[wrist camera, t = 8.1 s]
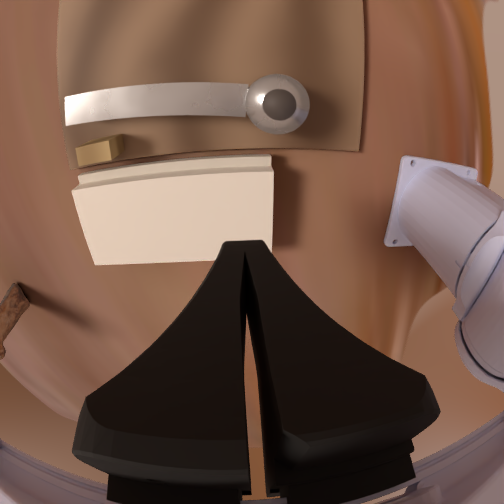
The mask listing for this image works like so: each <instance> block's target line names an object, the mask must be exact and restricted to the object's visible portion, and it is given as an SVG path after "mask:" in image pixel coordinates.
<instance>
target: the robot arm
mask: <svg viewBox="0 0 504 504" xmlns="http://www.w3.org/2000/svg"><path fill="white" fill-rule="evenodd" d="M412 160H413V163H412V165H411V164H410V163H411V161H412ZM467 171H468V172H467ZM477 174H478V172H477V170H476V169H475V168H472V167H468V166H463V165H459V164H454V163H449V162H444V161H439V160H433V159H428V158H422V157H415V156H409V155H405V156H403V157H402V158H401V162H400V168H399V174H398V179H397V185H396V190H395V195H394V200H393V204H392V209H391V213H390V218H389V222H388V226H387V230H386V234H385V238H384V244H385V245H386V246H387V247H395V246H414V247H415V248H416V249H417V250H418V251H419V252H420V254H421V255H422V256H423V257H424V258H425V260H426V261H427V262H428V263H429V264H430V266H431V267H432V268H433V269H434V271H435V272H436V273H437V274H438V276H439V277H440V278H441V279H442V281H443V282H444V283H445V285H446V286H447V287H448V288H449V290H450V291H451V292H452V294H453V295H454V297H455V298H456V301H455V303H454V306H453V307H452V310H453V311H454V312H455V314H456V316H457V317H458V319H459V321H458V322H457V324H456V327H455V342H456V346H457V349H458V352H459V355H460V357H461V359H462V361H463V363H464V365H465V366H466V367H467V369H468V370H469V371H470V373H472V375H473V376H475V377H476V378H477V379H478V380H480V381H482V382H484V383H486V384H488V385H491V386H494V387H496V388H498V389H500V390H501V391H502V392H504V199H503V198H501V197H500V196H499V195H497V194H496V193H494V192H493V191H491V190H490V189H488V188H487V187H485V186H484V185H482V184H481V183H479V182H478V181H476V179H477ZM394 240H395V241H394ZM393 241H394V242H393ZM246 313H247V318H248V324H249V330H250V336H251V341H252V347H253V353H254V358H255V364H256V370H257V377H258V390H259V402H260V415H261V428H262V442H263V456H264V469H265V483H266V494H267V497H275V496H280V498H275V499H264V500H247V501H246V500H245V501H242V495H252V494H251V478H250V463H249V450H248V435H247V419H246V403H245V386H244V357H245V335H246ZM439 414H440V408H439V405H438V403H437V401H436V398H435V395H434V393H433V390H432V388H431V386H430V384H429V382H428V381H427V379H426V377H425V375H423V374H421V373H419V372H417V371H415V370H413V369H411V368H408V367H407V366H405V365H402V364H401V363H399V362H397V361H395V360H393V359H391V358H389V357H387V356H386V355H384V354H382V353H381V352H379V351H377V350H376V349H374V348H372V347H371V346H369V345H367V344H366V343H364V342H363V341H361V340H360V339H358V338H357V337H356V336H354V335H353V334H352V333H350V332H349V331H347V330H346V329H345V328H343V327H342V326H341V325H339V324H338V323H337V322H335V321H334V320H333V319H332V318H331V317H329V316H328V315H327V314H326V313H325V312H324V311H323V310H321V309H320V308H319V307H318V306H317V305H316V304H315V303H314V302H313V301H312V300H311V299H310V298H309V297H308V296H307V295H306V294H305V293H304V292H303V291H302V290H301V289H300V288H299V287H298V286H297V284H296V283H295V282H294V281H293V280H292V279H291V278H290V276H289V275H288V274H287V273H286V271H285V270H284V269H283V268H282V266H281V265H280V264H279V262H278V261H277V260H276V258H275V257H274V256H273V254H272V253H271V251H270V250H269V248H268V246H267V245H266V243H265V242H264V241H263V240H240V241H225V242H224V243H223V244H222V246H221V249H220V251H219V254H218V256H217V258H216V260H215V262H214V264H213V266H212V267H211V269H210V271H209V272H208V274H207V276H206V278H205V279H204V281H203V282H202V284H201V285H200V287H199V288H198V290H197V291H196V293H195V294H194V296H193V297H192V299H191V300H190V301H189V303H188V304H187V305H186V307H185V308H184V309H183V311H182V312H181V313H180V314H179V315H178V317H177V318H176V319H175V320H174V321H173V323H172V324H171V325H170V326H169V327H168V328H167V329H166V330H165V331H164V332H163V333H162V335H161V336H160V337H159V338H158V339H157V340H156V341H155V342H154V343H153V344H152V345H151V346H150V347H149V348H148V349H146V350H145V351H144V352H143V353H142V354H141V355H140V356H139V357H138V358H136V359H135V360H134V361H133V362H132V363H131V364H130V365H129V366H127V367H126V368H125V369H124V370H123V371H121V372H120V373H119V374H118V375H116V376H115V377H113V378H112V379H111V380H109V381H108V382H107V383H105V384H104V385H103V386H101V387H100V388H98V389H97V390H96V391H94V392H93V393H91V394H90V395H88V396H87V397H86V398H85V401H84V404H83V407H82V409H81V412H80V415H79V419H78V424H77V428H76V433H75V438H74V442H73V448H72V453H73V454H74V456H75V457H76V458H77V459H79V460H81V461H82V462H84V463H86V464H88V465H90V466H92V467H95V468H96V469H98V470H101V471H103V472H105V473H107V474H109V477H108V485H106V484H103V483H99V482H96V481H93V480H90V479H86V478H83V477H80V476H78V475H75V474H72V473H69V472H67V471H64V470H62V469H59V468H57V467H54V466H52V465H50V464H47V463H45V462H43V461H41V460H38V459H36V458H34V457H32V456H30V455H28V454H26V453H24V452H22V451H20V450H18V449H17V448H15V447H13V446H11V445H10V444H8V443H6V442H4V441H2V440H1V439H0V504H361V503H364V502H367V501H370V500H373V499H376V498H379V497H382V496H384V495H387V494H390V493H392V492H395V491H397V490H400V489H402V488H405V487H407V486H408V487H407V489H406V491H405V493H404V494H403V495H399V496H397V497H393V498H390V499H386V500H383V501H381V502H378V503H375V504H504V411H503V412H501V413H500V414H499V415H497V416H496V417H494V418H493V419H492V420H490V421H489V422H487V423H486V424H484V425H483V426H481V427H480V428H478V429H477V430H475V431H474V432H472V433H470V434H469V435H467V436H465V437H464V438H462V439H460V440H459V441H457V442H455V443H453V444H451V445H450V446H448V447H446V448H444V449H442V450H440V451H438V452H436V453H434V454H432V455H430V456H428V457H426V458H424V459H421V460H419V461H417V462H415V463H412V461H411V457H410V453H412V452H413V451H414V446H413V443H412V440H411V439H412V438H413V437H415V436H416V435H418V434H419V433H420V432H422V431H423V430H424V429H426V428H427V427H428V426H430V425H431V424H432V423H433V422H434V421H435V420H436V419H437V418H438V416H439Z"/></svg>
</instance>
